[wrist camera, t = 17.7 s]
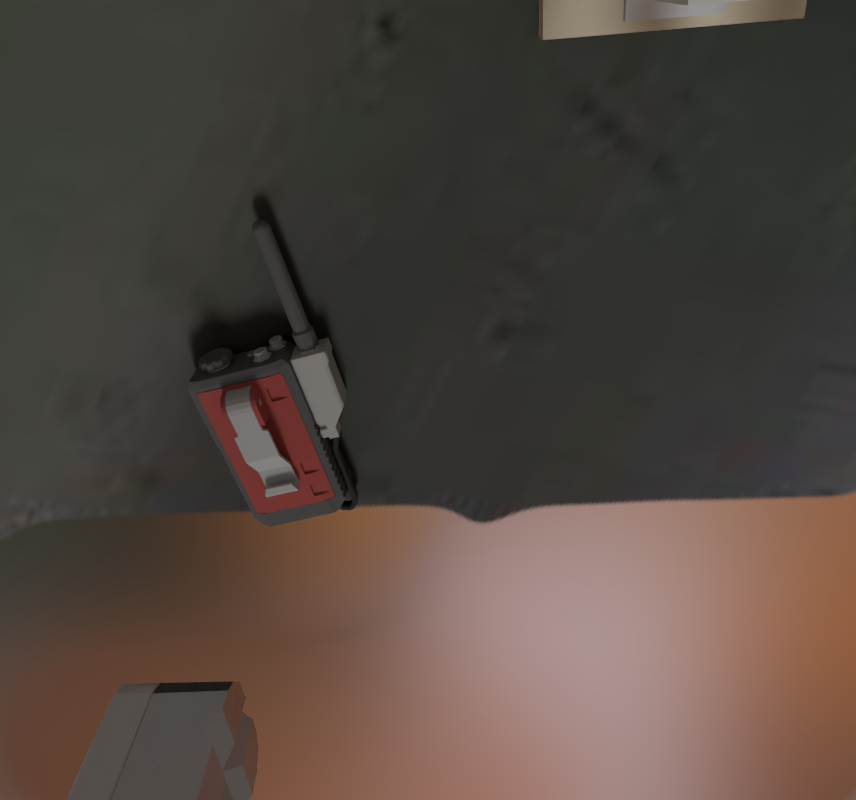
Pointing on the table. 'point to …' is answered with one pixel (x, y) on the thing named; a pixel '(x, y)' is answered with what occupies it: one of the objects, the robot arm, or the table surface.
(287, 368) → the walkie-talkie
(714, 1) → the block
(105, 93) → the table surface
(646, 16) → the rail board
